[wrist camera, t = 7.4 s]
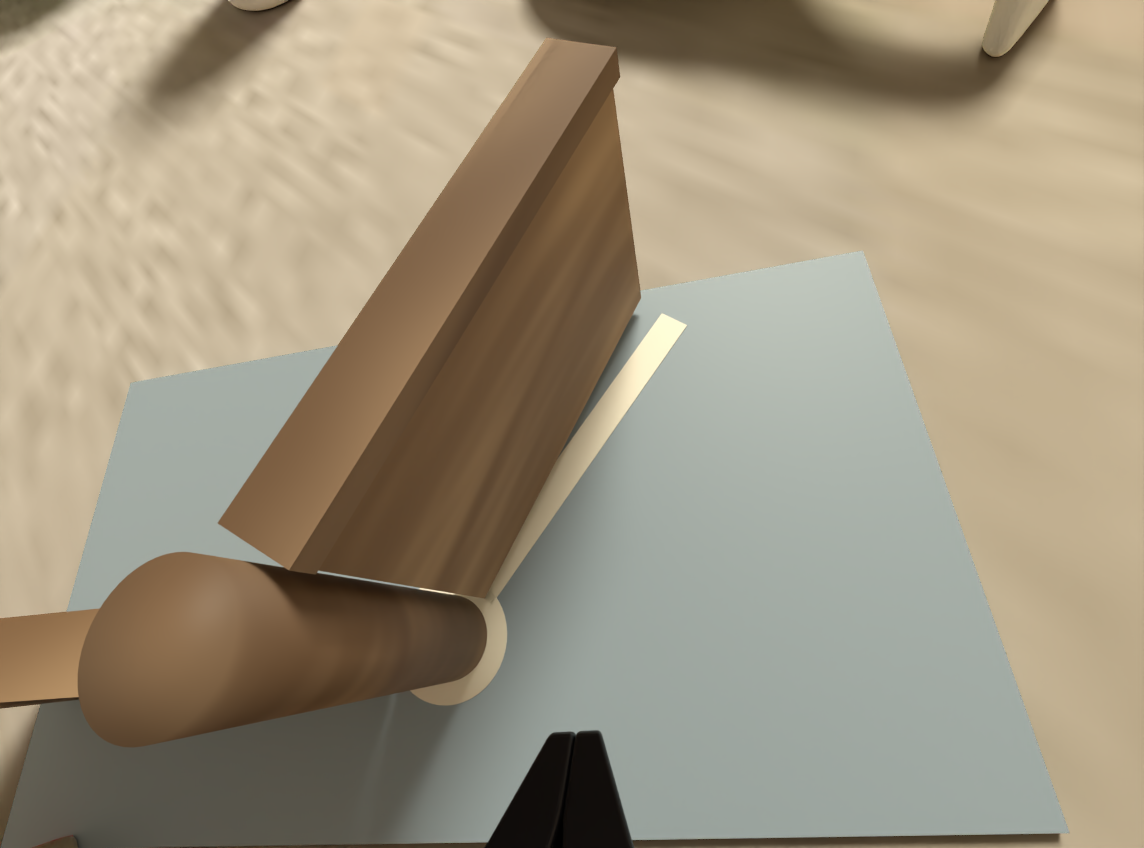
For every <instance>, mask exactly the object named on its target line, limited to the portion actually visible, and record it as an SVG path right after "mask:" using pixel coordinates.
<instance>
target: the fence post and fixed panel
mask: <svg viewBox="0 0 1144 848" xmlns="http://www.w3.org/2000/svg"><path fill="white" fill-rule="evenodd" d="M486 643H487V627H486V622H485V619H484V616H483V614H482V612H481V611H480V609H479V608H478V607H477V606H476V605H475V604H474V603H473V602H472V601H470V600H469V599H467V598H465V597H462V596H458V595H452V594H446V593H439V592H433V591H427V590H421V589H415V588H408V587H402V586H396V585H390V584H384V583H378V582H371V581H365V580H359V579H353V578H347V577H340V576H334V575H328V574H322V573H316V575H315V574H309V573H303V572H296V571H290V570H288V569H286V568H285V567H279V566H273V565H266V564H260V563H254V562H248V561H242V560H235V559H229V558H223V557H217V556H211V555H205V554H198V553H192V552H174V553H169V554H165V555H162V556H159V557H156V558H154V559H152V560H150V561H148V562H146V563H144V564H143V565H141V566H140V567H138V568H137V569H135V570H134V571H133V572H131V573H130V574H129V575H128V576H127V577H125V578H124V579H123V580H122V581H121V582H120V583H119V584H118V585H117V586H116V588H115V589H114V590H113V591H112V592H111V593H110V595H109V596H108V597H107V599H106V600H105V601H104V603H103V604H102V606H101V607H100V608H99V609H89V610H79V611H69V612H59V613H50V614H40V615H30V616H20V617H10V618H0V708H9V707H18V706H27V705H36V704H45V703H54V702H63V701H72V700H78V699H79V701H80V705H81V709H82V712H83V714H84V717H85V719H86V721H87V722H88V724H89V726H90V727H91V728H92V730H93V731H94V732H95V733H96V734H97V735H98V736H99V737H101V738H102V739H104V740H105V741H107V742H109V743H111V744H113V745H117V746H121V747H133V748H134V747H142V746H147V745H152V744H157V743H162V742H167V741H171V740H176V739H181V738H186V737H190V736H195V735H200V734H205V733H209V732H214V731H219V730H224V729H229V728H233V727H238V726H243V725H248V724H252V723H257V722H262V721H267V720H271V719H276V718H281V717H286V716H291V715H295V714H300V713H305V712H310V711H314V710H319V709H324V708H329V707H333V706H338V705H343V704H348V703H353V702H357V701H362V700H367V699H372V698H376V697H381V696H386V695H391V694H395V693H400V692H405V691H410V690H414V689H419V688H424V687H429V686H434V685H438V684H443V683H448V682H453V681H456V680H459V679H461V678H463V677H465V676H466V675H468V674H469V673H470V672H471V671H473V669H474V668H475V667H476V666H477V665H478V663H479V662H480V660H481V658H482V656H483V654H484V651H485V648H486Z"/></svg>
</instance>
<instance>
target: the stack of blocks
mask: <svg viewBox="0 0 1144 848" xmlns="http://www.w3.org/2000/svg"><path fill="white" fill-rule="evenodd" d="M32 848H78V845H77V840H76V839H75V838H74V836H73V835H70V836H65V837H61V838H58V839H55V840H52V841H49V842H46V843H44V844H41V845H38V846H35V847H32Z"/></svg>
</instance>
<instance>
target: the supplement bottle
mask: <svg viewBox="0 0 1144 848" xmlns="http://www.w3.org/2000/svg"><path fill="white" fill-rule="evenodd" d="M228 1H229V2H230V3H231V4H232V5H234V6H235V7H237V8H240V9H243V10H251V11H259V10H265V9H270V8H273V7H276V6H278V5H280V4H282V3H284V2H286V1H288V0H228Z"/></svg>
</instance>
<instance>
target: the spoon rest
mask: <svg viewBox="0 0 1144 848" xmlns="http://www.w3.org/2000/svg"><path fill="white" fill-rule="evenodd" d="M1048 1H1049V0H995V3H994V6H993V10H992V13H991V16H990V19H989V22H988V25H987V28H986V31H985V33H984V37H983V42H982V47H983V49H984V51H985V52H986V53H987V54H989V55H990V56H992V57H999V56H1002V55H1004V54H1005V53H1006V52H1008V51H1009V50H1010V49H1011V48H1012V47H1013V45H1014V44H1015V43H1016V42H1017V41H1018V39H1019V38H1020V37H1021V36H1022V35H1023V33H1024V32H1025V31H1026V30H1027V28H1028V27H1029V26H1030V24H1031V23H1032V22H1033V21H1034V19H1035V18H1036V17H1037V16H1038V14H1039V13H1040V12H1041V10H1042V9H1043V8H1044V6H1045V5H1046V4H1047V2H1048Z"/></svg>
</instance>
